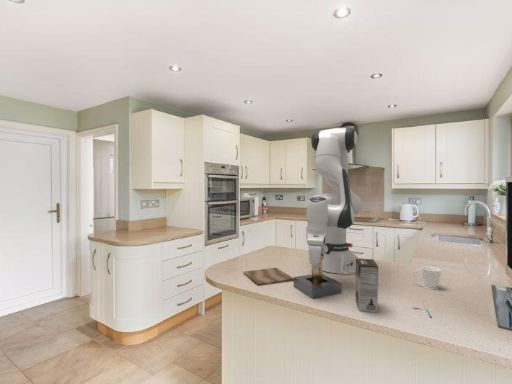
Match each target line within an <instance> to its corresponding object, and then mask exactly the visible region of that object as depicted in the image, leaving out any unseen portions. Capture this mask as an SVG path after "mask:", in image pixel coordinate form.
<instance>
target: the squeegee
mask: <svg viewBox="0 0 512 384" xmlns="http://www.w3.org/2000/svg"><path fill="white" fill-rule="evenodd" d="M412 308H414V309H413V310H417V309H420V308H418V307H411V309H412ZM427 309H428V308H427ZM427 309H426V310H427ZM426 312H428V313H427V314H428V316H430V317H429V319H433V316H432V315H431V313H430V311H429V309H428V310H427V311H426Z"/></svg>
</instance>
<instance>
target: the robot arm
mask: <svg viewBox="0 0 512 384" xmlns="http://www.w3.org/2000/svg"><path fill="white" fill-rule="evenodd" d="M358 139H359V138H358V133H357V131H356V129H355V128H354V127H335V128H334V127H333V128H329V129H323V130H321V129H319V130H317V131H314V132H313V133H312V134H311V139H310V143H311V148H312V149H313V150H314V151H315V159H314V160H315V162H314V169H315V171H316V172H317V174H318V175H320V176H321V177H323V178H324V181H325V183H326V185H328V186H329V187H332V188H334V189H335V191H336V193H319V194H314V195H313V196H312V197H310V198H309V199H308V200H307V207H306V223H307V226H306V233H305V235H306V236H305V237H306V240H305V241H306V245H308V260H309V264H310V265H312V264H313V267H314V272H316V273H318V269H319V267H318V266H319V264H320V261H321V254H322V253H324V259H322V272H327V273H331V274H340V275H344V276H345V275H350V274H354V273H355V274H356V259H359V257H358V256H357V255H356V254H355V253H354V252H352V251H351V250H350V249H349V248H353V246H354V245H353V243H350V242H347V229H349V228H350V227H351V226H353V225H354V222H355V216H356V215H359V214H360V212H361V211H362V208H363V202H362V199H361V198H360V197H359V195H357V194H355V192H353V190H352V189H351V186H350V181H349V173H348V171H349V161H348V154H349V153H350V152H351V151H352V150H354V149H355V147H356V146H357V143H358Z"/></svg>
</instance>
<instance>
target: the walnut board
mask: <svg viewBox="0 0 512 384" xmlns="http://www.w3.org/2000/svg"><path fill="white" fill-rule="evenodd" d="M243 275H244V276H246V277H247V278H248V279H249V280H250V281H252V282H253V283H254V284H255V285H256V286H257V287H261V286H267V285H273V284H280V283H288V282H294V276H291V275H289V274H288V273H286V272H285V271H283V270H281V269H280V268H277V267H272V268H270V267H269V268H262V269H254V270H246V271H243Z"/></svg>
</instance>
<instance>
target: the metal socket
mask: <svg viewBox="0 0 512 384" xmlns="http://www.w3.org/2000/svg"><path fill="white" fill-rule="evenodd" d="M293 278H294V281H293V288H296V289H297V290H298V291H300V292H301V293H303V294H305V295H306V296H308V297H309V298H311V299H319V298H322V297H328V296H335V295H339V294H342V292H343V290H342V289H343V285H342V284H343V283H342V282H340V281H339V280H336V279H334V278H332V277H329V276H328V275H325V274H323V273H322V283H318V284H314V283H312V282H311V274H307V275H300V276H299V275H298V276H293Z"/></svg>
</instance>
